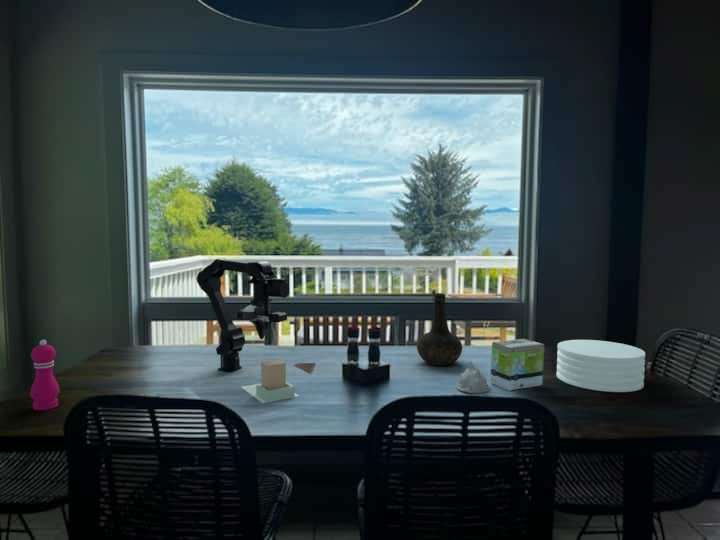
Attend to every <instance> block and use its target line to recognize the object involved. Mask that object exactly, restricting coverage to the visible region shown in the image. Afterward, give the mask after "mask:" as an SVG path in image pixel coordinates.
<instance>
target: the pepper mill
mask: <svg viewBox="0 0 720 540" xmlns="http://www.w3.org/2000/svg"><path fill="white" fill-rule="evenodd" d="M56 355H57V353H56V349H55V348H54V346H52V345H50V344H48V343H47V340H46V339H42V340H40V341H39V345H37V346H36V347H33V349H32V351H31V353H30V356H31V359H32V360H33V368H34V369H35V378H34V381H33V384H32V386H31V389H30V397H31V399H32V400H33V402H32V408H33V410H35V411H47V410H51V409H54V408H57V407H58V405H59V399H58V396H59V394H60V386H59V383H58V381H57V380H56V378H55V376H54V372H53V367H54V366H55V360H54V358H55V357H56Z"/></svg>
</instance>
